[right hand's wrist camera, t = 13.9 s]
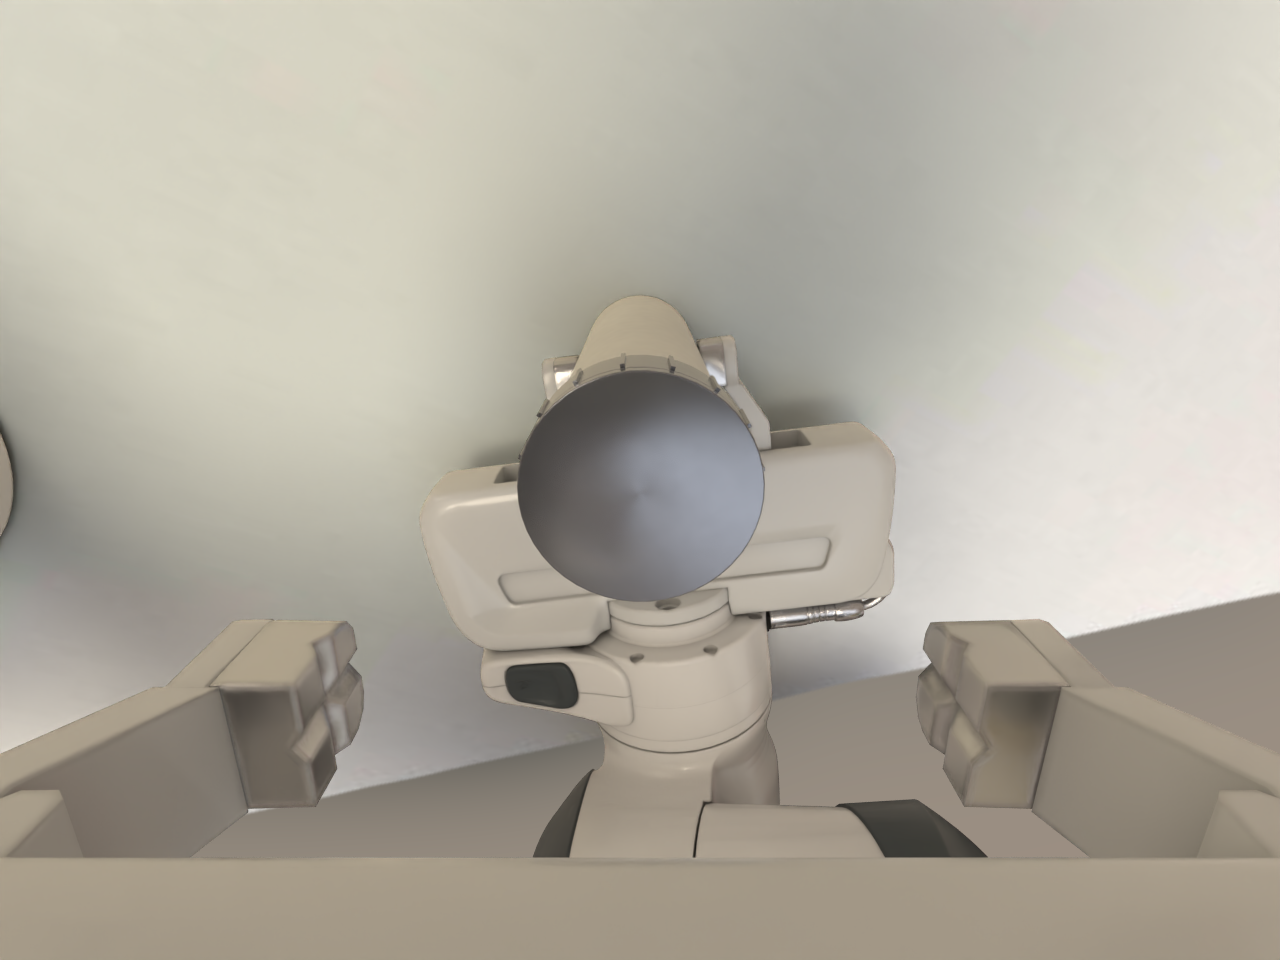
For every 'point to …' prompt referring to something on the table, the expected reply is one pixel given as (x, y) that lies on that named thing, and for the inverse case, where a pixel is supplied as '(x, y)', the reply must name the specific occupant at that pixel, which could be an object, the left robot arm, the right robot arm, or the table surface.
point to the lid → (640, 479)
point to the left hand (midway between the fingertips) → (636, 348)
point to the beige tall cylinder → (640, 333)
